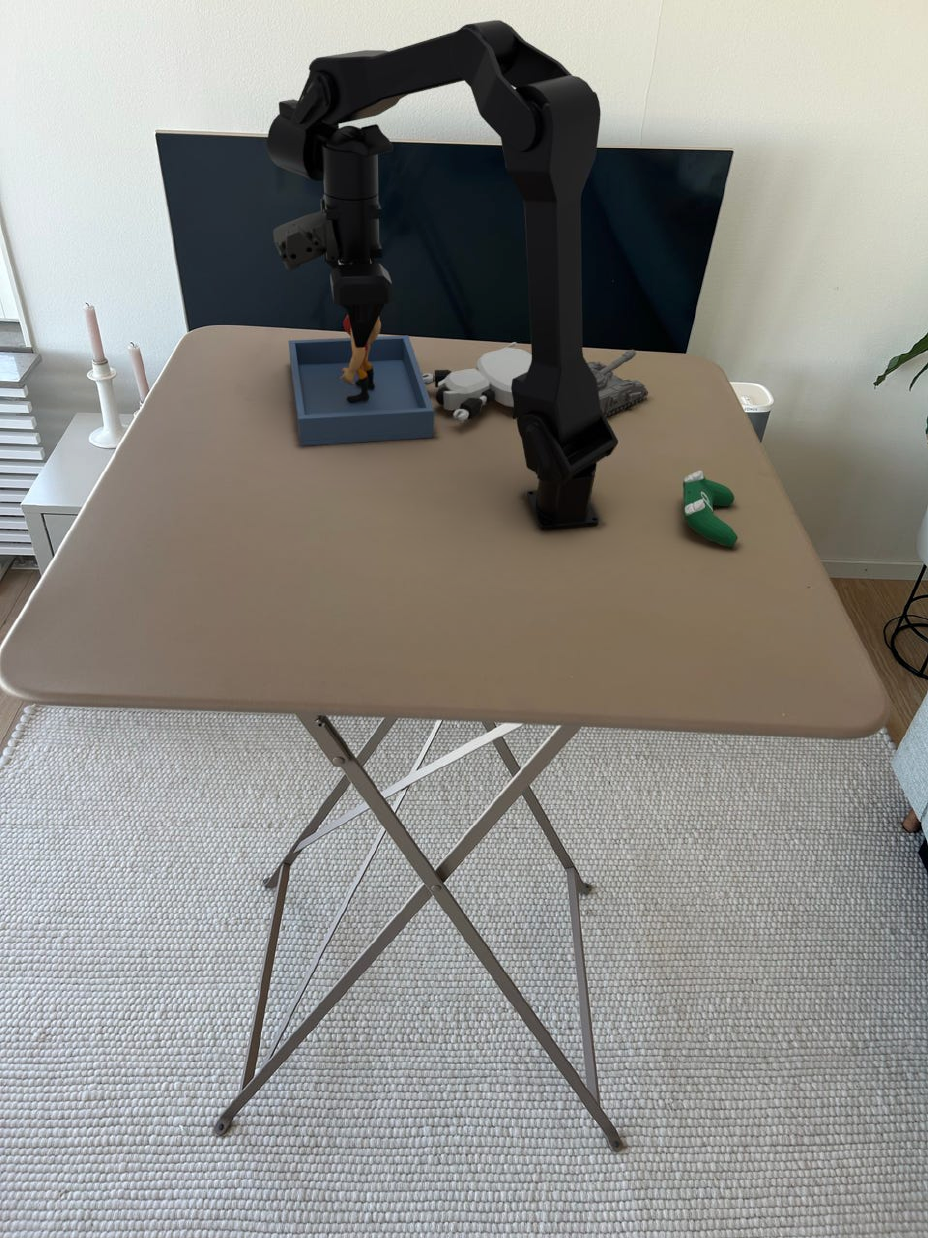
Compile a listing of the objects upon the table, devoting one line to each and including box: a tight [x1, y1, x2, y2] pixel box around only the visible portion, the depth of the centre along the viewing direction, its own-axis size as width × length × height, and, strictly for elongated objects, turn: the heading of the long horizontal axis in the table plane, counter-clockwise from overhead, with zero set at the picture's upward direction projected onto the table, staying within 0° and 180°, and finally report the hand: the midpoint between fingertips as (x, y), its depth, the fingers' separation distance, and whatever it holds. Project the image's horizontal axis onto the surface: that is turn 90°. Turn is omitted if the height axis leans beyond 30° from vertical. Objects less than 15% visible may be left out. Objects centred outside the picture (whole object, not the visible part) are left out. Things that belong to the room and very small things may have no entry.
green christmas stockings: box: [682, 470, 739, 548], centre depth 94 cm, size 9×4×6 cm
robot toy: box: [422, 341, 532, 422], centre depth 110 cm, size 12×4×15 cm
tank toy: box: [587, 349, 649, 418], centre depth 112 cm, size 12×10×5 cm
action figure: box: [340, 314, 382, 402], centre depth 105 cm, size 10×4×15 cm, turn 170°
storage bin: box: [288, 335, 435, 447], centre depth 109 cm, size 20×16×4 cm
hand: (356, 331), depth 104 cm, fingers open, 7 cm apart
